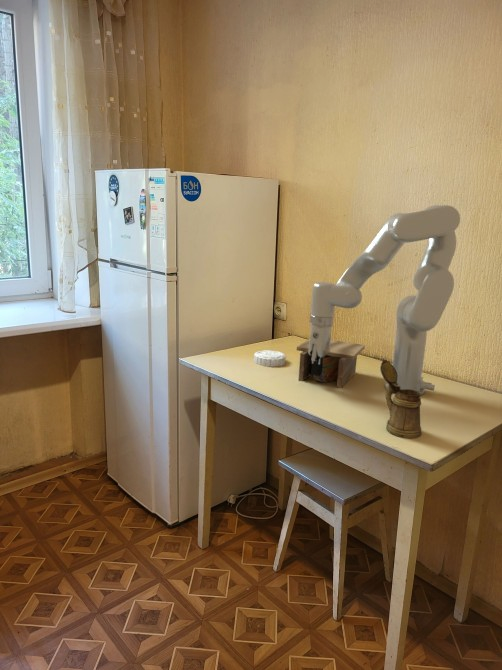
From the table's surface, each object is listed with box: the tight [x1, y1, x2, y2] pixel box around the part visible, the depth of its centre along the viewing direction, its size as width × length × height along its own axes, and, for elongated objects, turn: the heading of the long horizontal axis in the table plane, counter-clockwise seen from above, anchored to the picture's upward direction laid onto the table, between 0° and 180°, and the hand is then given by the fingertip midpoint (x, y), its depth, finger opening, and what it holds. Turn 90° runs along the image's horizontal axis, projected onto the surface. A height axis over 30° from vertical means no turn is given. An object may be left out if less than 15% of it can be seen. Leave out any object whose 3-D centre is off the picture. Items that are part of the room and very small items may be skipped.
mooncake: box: [253, 349, 287, 368], centre depth 195 cm, size 12×12×4 cm
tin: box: [312, 356, 341, 383], centre depth 176 cm, size 15×3×8 cm, turn 128°
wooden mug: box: [379, 359, 422, 439], centre depth 137 cm, size 9×14×18 cm, turn 40°
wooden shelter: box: [296, 338, 366, 389], centre depth 180 cm, size 20×20×11 cm
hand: (316, 374), depth 169 cm, fingers closed
